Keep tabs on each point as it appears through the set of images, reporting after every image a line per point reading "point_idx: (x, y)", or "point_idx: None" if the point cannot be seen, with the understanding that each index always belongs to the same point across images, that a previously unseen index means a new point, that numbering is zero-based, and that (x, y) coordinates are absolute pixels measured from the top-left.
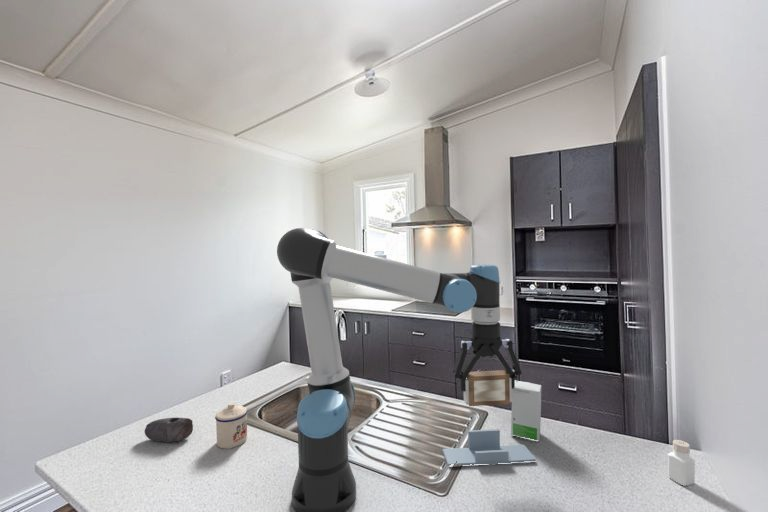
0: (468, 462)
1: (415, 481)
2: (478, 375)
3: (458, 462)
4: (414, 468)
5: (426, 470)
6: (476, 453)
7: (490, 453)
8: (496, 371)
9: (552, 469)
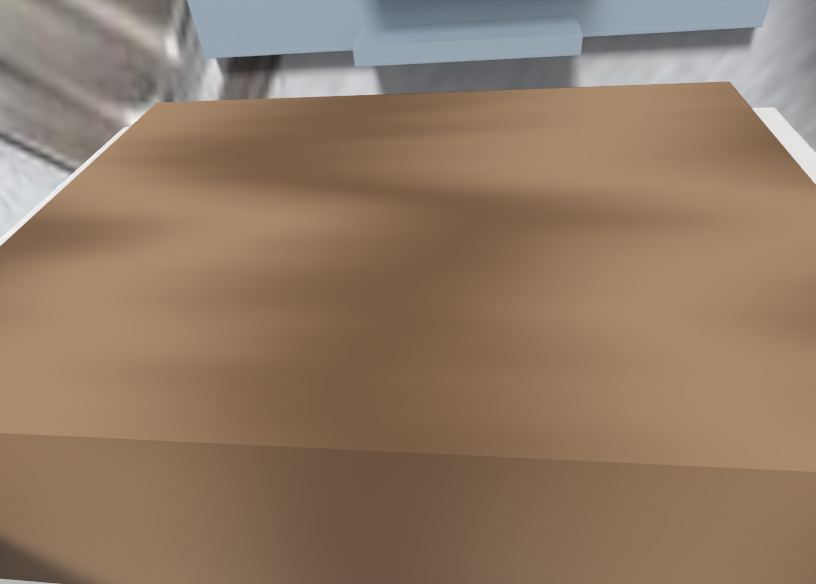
0: (320, 47)
1: (73, 148)
2: (168, 577)
3: (262, 45)
4: (34, 50)
5: (101, 70)
6: (360, 65)
7: (453, 59)
8: (697, 509)
9: (804, 86)
